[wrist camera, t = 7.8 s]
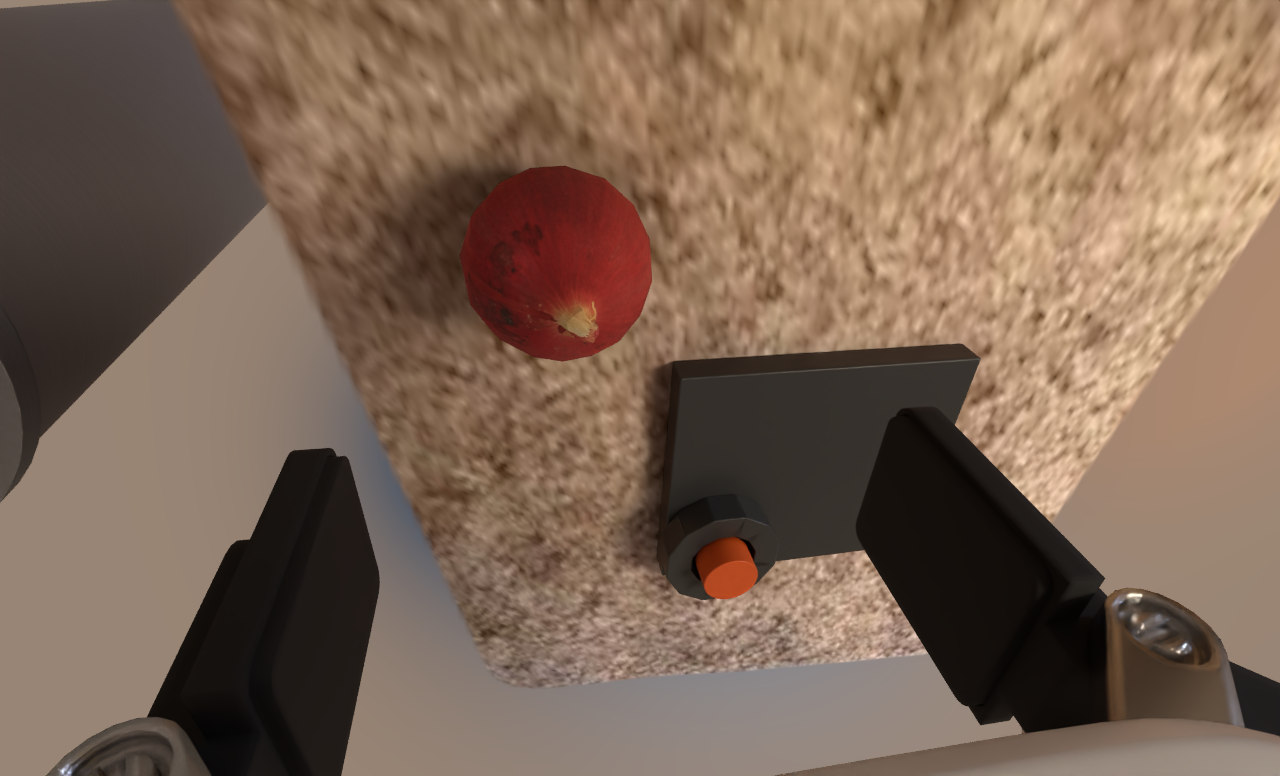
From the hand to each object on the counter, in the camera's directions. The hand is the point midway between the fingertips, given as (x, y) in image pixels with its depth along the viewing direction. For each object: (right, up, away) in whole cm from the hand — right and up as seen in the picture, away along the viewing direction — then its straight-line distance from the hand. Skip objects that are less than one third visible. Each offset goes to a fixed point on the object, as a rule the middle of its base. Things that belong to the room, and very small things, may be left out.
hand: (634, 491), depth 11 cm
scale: (+8, -2, +20) cm, 22 cm away
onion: (-3, +8, +12) cm, 14 cm away
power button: (+4, -6, +19) cm, 21 cm away
